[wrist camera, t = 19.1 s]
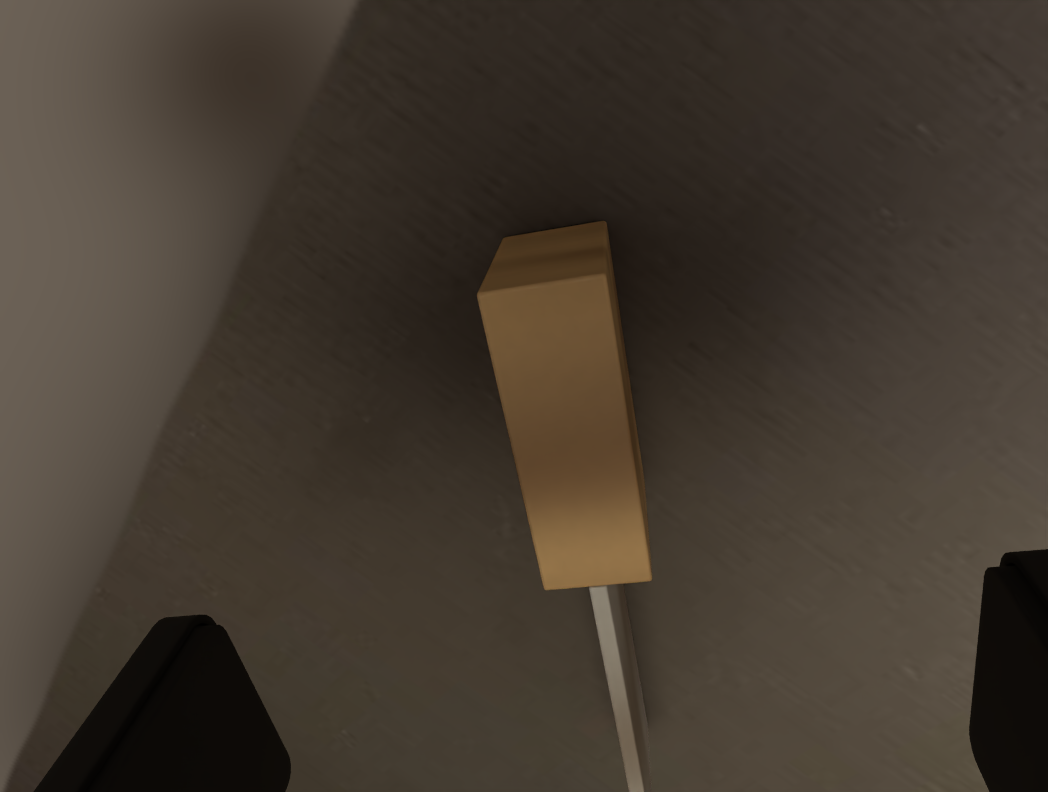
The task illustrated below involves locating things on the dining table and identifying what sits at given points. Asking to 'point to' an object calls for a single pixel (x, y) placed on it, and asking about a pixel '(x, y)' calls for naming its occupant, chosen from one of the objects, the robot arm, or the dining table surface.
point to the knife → (575, 439)
